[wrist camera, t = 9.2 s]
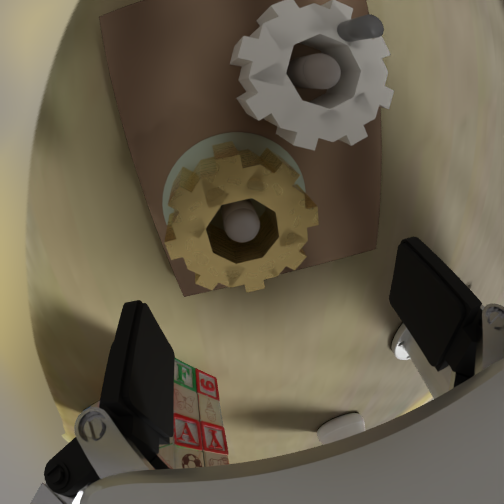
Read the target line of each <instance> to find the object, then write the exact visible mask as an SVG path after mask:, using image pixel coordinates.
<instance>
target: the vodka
mask: <svg viewBox="0 0 504 504" xmlns="http://www.w3.org/2000/svg"><path fill="white" fill-rule="evenodd" d="M363 431H366V429H365V422H364V420H363V417H362V416H361V415H360V414H358V413H349V414H345V415H342V416H339V417H336V418H334V419H332V420H330V421H328V422H326V423H325V424H323V425H322V426H321V427H320V428H319V429H318V431H317V436H318V439H319V441H320V442H321V444H322V445H325V444H328V443H331V442H335V441H338V440H341V439H344V438H347V437H350V436H352V435H355V434H358V433H361V432H363Z"/></svg>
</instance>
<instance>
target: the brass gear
mask: <svg viewBox="0 0 504 504" xmlns="http://www.w3.org/2000/svg"><path fill="white" fill-rule="evenodd" d="M212 147H213V152H214V157H210V158H206V159H202V160H200V161H199V163H198V164H197V166H196V167H195V169H194V171H193V172H192V171H190V170H188V169H187V168H185V167H182V168H181V170H180V172H179V173H178V175H177V177H176V178H175V180H174V182H173V185H172V189H171V193H170V197H169V202H168V206H169V207H171V208H173V209H174V213H171V214H169V219H168V225H167V230H166V236H165V242H164V243H165V245H166V248H167V251H168V253H169V256H170V258H171V260H173V259H177V258H181V257H183V258H184V261H185V263H186V266H187V269H188V270H190V271H193V272H195V284H198V285H200V286H203V287H205V288H207V289H210V290H213V289H214V288H215V286H216V285H217V284H218V283H221V284H223V285H225V286H228V287H230V288H232V287H236V286H240V285H244V284H245V288H246V292H247V293H248V292H252V291H256V290H260V289H264V288H265V285H264V280H265V279H269V278H273V277H277V276H278V275H279V274H280V273H281V272H282V270H283V269H284V268H285V267H286V266H287V267H289V268H291V269H293V270H296V268H297V267H298V266H299V265H300V264H301V263H302V262H303V260H304V259H305V258H306V257H307V256H306V254H305V252H304V251H303V249H302V247H303V246H304V245H305V243H306V242H307V241H308V235H307V228H308V227H312V226H316V225H319V223H318V206H317V205H316V204H315V203H314V202H313V201H312V200H311V198H310V197H309V196H308V195H307V194H306V193H305V192H304V191H303V190H302V189H301V187H300V186H299V185H298V184H295V182H296V180H297V179H298V178H299V176H300V174H299V173H298V172H297V171H295V170H294V169H293V168H292V167H291V166H290V165H289V164H288V163H287V162H286V161H285V160H284V159H283V158H281V157H280V156H279V155H277V154H276V153H274V152H273V151H271V150H270V149H268V148H266V149H265V150H264V152H263V153H262V155H261V156H258V155H257V154H255V153H254V152H252V151H251V150H249V149H246V150H241V151H237V149H236V147H235V146H234V144H233V142H232V141H229V142H225V143H220V144H216V145H212ZM250 198H253V199H255V200H256V201H258V202H260V203H261V204H263V205H265V212H264V213H263V214H262V216H261V217H260V218H259V221H260V228H259V232H258V234H257V235H256V236H255V237H254V238H253V239H252V240H250V241H248V242H236V241H234V240H232V239H231V238H230V237H229V236H228V235H227V234H226V232H225V231H224V230H222V229H220V228H218V227H216V226H214V225H212V224H210V222H211V220H212V219H213V217H214V216H215V214H216V213H217V211H218V210H219V208H220V207H221V205H224V204H228V203H232V202H237V201H241V200H245V199H250Z"/></svg>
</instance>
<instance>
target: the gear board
mask: <svg viewBox="0 0 504 504" xmlns="http://www.w3.org/2000/svg"><path fill="white" fill-rule="evenodd" d="M281 1H284V0H143V1H140V2H137V3H134V4H131V5H128V6H125V7H123V8H120V9H117V10H115V11H112V12H110V13H107V14H105V15H102V16H100V17H99V19H100V25H101V31H102V37H103V42H104V48H105V53H106V58H107V63H108V68H109V72H110V77H111V81H112V85H113V90H114V94H115V98H116V102H117V106H118V110H119V114H120V117H121V121H122V125H123V128H124V132H125V135H126V139H127V142H128V146H129V149H130V152H131V156H132V159H133V162H134V165H135V169H136V172H137V175H138V178H139V181H140V184H141V187H142V190H143V193H144V196H145V199H146V201H147V204H148V207H149V210H150V213H151V216H152V218H153V221H154V224H155V226H156V229H157V232H158V234H159V237H160V240H161V242H162V245H163V247H164V250H165V252H166V255H167V258H168V260H169V262H170V265H171V267H172V270H173V272H174V275H175V277H176V279H177V282H178V284H179V286H180V289H181V291H182V293H183V296H184V297H186V296H190V295H195V294H199V293H203V292H208V291H212V290H210V289H207V288H205V287H203V286H200V285H198V284H195V272H193V271H190V270H188V269H187V266H186V263H185V261H184V258H183V257H181V258H177V259H173V260H171V258H170V256H169V253H168V251H167V248H166V245H165V243H164V242H165V236H166V230H167V225H168V219H169V214H171V213H174V209H173V208H171V207H169V206H168V202H169V197H170V193H171V189H172V185H173V182H174V180H175V178H176V177H177V175H178V173H179V172H180V170H181V168H182V167H185V168H187V169H188V170H190V171H192V172H193V171H194V169H195V167H196V166H197V164H198V163H199V161H200V160H202V159H206V158H210V157H214V152H213V147H212V145H216V144H220V143H225V142H229V141H232V142H233V144H234V146H235V147H236V149H237V151H241V150H246V149H249V150H251V151H252V152H254V153H255V154H257V155H258V156H261V155H262V153H263V152H264V150H265V149H266V148H268V149H270V150H271V151H273V152H274V153H276V154H277V155H279V156H280V157H281V158H283V159H284V160H285V161H286V162H287V163H288V164H289V165H290V166H291V167H292V168H293V169H294V170H295V171H297V172H298V173H299V174H300V176H299V178H298V179H297V180H296V182H295V184H298V185H299V186H300V187H301V189H302V190H303V191H304V192H305V193H306V194H307V195H308V196H309V197H310V198H311V200H312V201H313V202H314V203H315V204H316V205H317V206H318V223H319V225H316V226H312V227H308V228H307V235H308V241H307V242H306V243H305V245H304V246H303V247H302V249H303V251H304V252H305V254H306V256H307V257H306V258H305V259H304V260H303V262H302V263H301V264H300V265H299V266H298V267H297V268H296V270H299V269H303V268H307V267H310V266H314V265H318V264H322V263H326V262H330V261H333V260H337V259H341V258H345V257H348V256H352V255H356V254H359V253H363V252H367V251H370V250H374V249H376V245H377V235H378V225H379V212H380V195H381V166H382V138H381V109H380V107H379V108H378V111H377V114H376V118H375V119H374V120H372V121H370V122H368V123H366V124H364V128H365V130H366V133H367V135H368V136H367V137H366V138H364V139H362V140H361V141H359V142H357V143H355V144H354V145H352V146H351V145H349V144H347V143H345V142H343V141H340V140H336V141H335V142H331V141H327V140H324V139H320V138H318V141H317V145H316V148H315V151H314V150H310V149H306V148H302V147H298V146H294V145H292V144H291V143H289V142H288V141H286V140H285V139H283V138H282V137H280V136H279V135H277V134H276V130H277V126H276V125H274V124H272V123H270V122H268V121H266V120H265V119H264V118H263V119H261V120H259V121H258V120H257V119H255V118H253V117H251V116H250V115H248V114H247V113H246V112H245V110H244V109H243V107H242V106H241V104H240V103H239V102H238V100H237V99H236V98H237V97H239V96H240V95H242V94H244V93H245V92H246V90H245V89H244V88H243V86H242V85H241V83H240V82H239V76H240V72H241V68H242V67H241V66H236V65H231V64H230V61H231V57H232V53H233V49H234V46H235V45H236V44H237V43H238V41H239V40H240V39H241V38H242V37H243V36H247V37H250V35H251V34H252V33H253V32H254V31H256V30H257V29H258V28H259V27H260V25H259V24H258V22H257V19H258V18H259V17H260V16H261V15H262V14H263V13H264V12H265V11H266V10H267V9H268V8H269V7H270V6H271V5H273V4H276V3H278V2H281ZM294 1H295V3H296V4H297V5H298V7H299V8H302V7H305V6H307V5H310V4H313V3H315V4H318V5H320V6H321V5H323V4H325V3H327V2H329V1H331V0H294ZM336 1H338V2H340V3H343V4H345V5H347V6H349V7H351V8H353V12H352V16H351V19H354V18H357V17H360V16H364V15H368V14H369V12H368V7H367V2H366V0H336ZM286 74H287V76H288V77H289V79H290V81H291V82H292V84H293V86H294V87H295V89H296V91H297V92H298V94H299V96H300V97H301V99H302V100H303V101H306V102H310V101H312V100H314V99H315V98H317V97H319V96H321V95H323V94H325V93H326V92H327V89H328V88H331V87H333V86H334V85H336V84H337V82H338V81H339V79H340V76H341V70H340V66H339V64H338V63H337V61H336V60H335V59H334V58H332V57H331V56H329V55H326V54H322V52H321V51H320V50H318V49H315V48H312V47H309V46H306V45H303V44H300V43H297V44H295V45H294V46H293V50H292V53H291V57H290V61H289V65H288V68H287V72H286ZM264 212H265V205H263V204H261V203H260V202H258V201H256V200H255V199H253V198H250V199H245V200H241V201H237V202H232V203H228V204H224V205H221V207H220V208H219V210H218V211H217V213H216V214H215V216H214V217H213V219H212V220H211V222H210V224H212V225H214V226H216V227H218V228H220V229H222V230H224V231H225V232H226V234H227V235H228V236H229V237H230V238H231V239H232V240H234V241H236V242H248V241H250V240H252V239H253V238H254V237H255V236H256V235H257V234H258V232H259V228H260V221H259V218H260V217H261V216H262V214H263V213H264ZM291 271H295V270H293V269H291V268H289V267H287V266H286V267H285V268H284V269H283V270H282V272H281V273H280V274H283V273H287V272H291ZM225 287H228V286H225V285H223V284H221V283H218V284H217V285H216V286H215V288H214V289H213V290H217V289H221V288H225Z"/></svg>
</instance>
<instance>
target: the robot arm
mask: <svg viewBox="0 0 504 504" xmlns="http://www.w3.org/2000/svg"><path fill="white" fill-rule="evenodd" d="M389 300H390V304H391V306H392V307H393V308H394V310H395V311H396V313H397V314H398V316H399V317H400V319H401V320H402V322H403V324H402V325H401V326H400V328H399V329H398V331H397V333H396V334H395V336H394V339H393V341H392V347H391V348H392V352H393V353H394V355H395V357H396V358H398V359H401V360H408V359H411V360H412V362H413V363H414V365H415V367H416V368H417V370H418V372H419V373H420V375H421V377H422V379H423V380H424V382H425V384H426V385H427V387H428V389H429V391H430V393H431V394H432V396H433V398H434V400H432V401H430V402H428V403H426V404H424V405H422V406H420V407H418V408H416V409H414V410H412V411H410V412H408V413H406V414H404V415H402V416H400V417H397V418H395V419H393V420H391V421H388V422H386V423H384V424H381V425H379V426H376V427H374V428H371V429H369V430H366V431H363V432H361V433H358V434H355V435H352V436H350V437H347V438H344V439H341V440H338V441H335V442H331V443H328V444H325V445H321V446H318V447H314V448H311V449H307V450H303V451H299V452H295V453H291V454H286V455H282V456H277V457H272V458H267V459H262V460H256V461H250V462H243V463H236V464H228V465H219V466H210V467H198V468H183V469H173V468H172V467H171V466H170V465H169V464H168V463H167V462H166V461H165V460H164V459H163V457H162V456H161V455H160V454H159V445H167V444H170V437H173V434H174V365H175V355H174V351H173V349H172V347H171V345H170V344H169V342H168V340H167V339H166V337H165V335H164V334H163V332H162V330H161V328H160V327H159V325H158V323H157V321H156V320H155V318H154V316H153V314H152V312H151V310H150V309H149V307H148V305H147V304H146V303H142V302H141V301H140V300H137V301H132V302H127V303H125V304H124V305H123V309H122V312H121V316H120V320H119V324H118V328H117V331H116V335H115V340H114V342H113V343H112V346H111V349H110V354H109V358H108V363H107V367H106V372H105V377H104V382H103V387H102V392H101V398H100V404H99V408H98V407H92V408H88V409H86V410H84V411H83V412H82V413H81V414H80V415H79V416H78V418H77V420H76V423H75V435H76V437H75V438H74V439H73V440H72V441H71V442H70V443H68V444H67V445H66V446H65V447H64V448H63V449H62V450H61V451H60V452H58V453H57V454H56V455H55V456H54V457H53V458H52V459H51V460H49V462H48V463H47V464H46V467H45V471H44V476H45V480H46V484H44V483H42V484H41V486H40V487H39V489H38V491H37V493H36V494H35V496H34V498H33V500H32V502H31V504H504V307H503V306H501V305H498V304H488V305H487V306H485V307H484V306H483V305H482V303H481V301H480V300H479V299H478V298H477V297H476V296H475V295H474V294H473V292H472V291H471V290H470V289H469V288H468V287H467V286H466V285H465V284H464V283H463V282H462V281H461V280H460V278H459V277H458V276H457V275H456V274H455V273H454V272H453V271H452V270H451V269H450V268H449V267H448V266H447V265H446V264H445V263H444V262H443V261H442V260H441V259H440V258H439V257H438V256H437V255H436V254H435V253H434V252H432V251H431V250H430V249H429V248H428V247H427V246H426V245H425V244H424V243H423V242H422V241H421V240H420V239H418V238H417V237H411V238H407V239H404V240H402V241H401V244H400V245H399V246H398V250H397V256H396V263H395V269H394V275H393V280H392V285H391V290H390V295H389Z"/></svg>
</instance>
